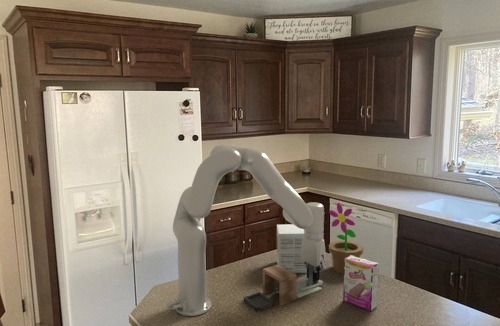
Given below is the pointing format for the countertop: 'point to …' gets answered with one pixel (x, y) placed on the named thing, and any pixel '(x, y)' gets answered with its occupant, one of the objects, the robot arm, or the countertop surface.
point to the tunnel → (280, 283)
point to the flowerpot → (343, 248)
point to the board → (308, 291)
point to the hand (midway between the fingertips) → (313, 278)
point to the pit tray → (258, 301)
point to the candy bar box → (360, 282)
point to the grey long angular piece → (306, 281)
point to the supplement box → (290, 248)
